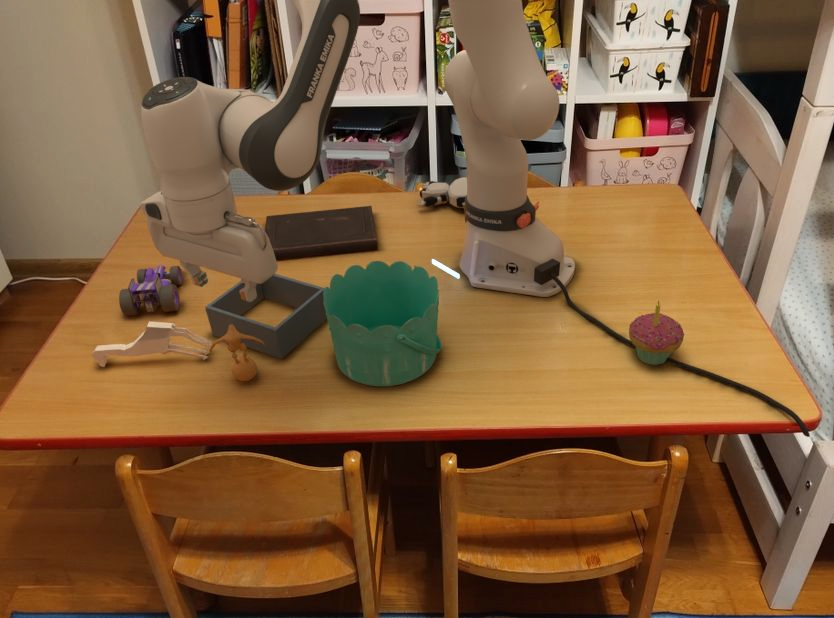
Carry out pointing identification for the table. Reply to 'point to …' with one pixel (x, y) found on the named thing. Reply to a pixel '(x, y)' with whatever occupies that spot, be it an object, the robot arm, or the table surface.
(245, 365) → the figurine
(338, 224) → the hardcover book
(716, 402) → the table surface
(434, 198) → the robot toy
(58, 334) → the table surface
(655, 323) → the cupcake
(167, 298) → the toy race car
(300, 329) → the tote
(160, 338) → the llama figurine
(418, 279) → the basket
